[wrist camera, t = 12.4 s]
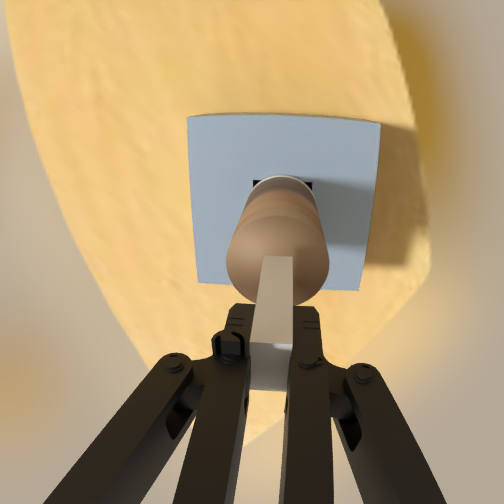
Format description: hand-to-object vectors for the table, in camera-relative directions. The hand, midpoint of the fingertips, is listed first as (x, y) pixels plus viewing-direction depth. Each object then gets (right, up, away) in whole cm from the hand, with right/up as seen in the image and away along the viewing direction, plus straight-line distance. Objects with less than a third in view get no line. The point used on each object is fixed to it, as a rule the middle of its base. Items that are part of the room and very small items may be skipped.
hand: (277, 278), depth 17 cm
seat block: (+2, +8, +15) cm, 17 cm away
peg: (+2, +7, +15) cm, 16 cm away
